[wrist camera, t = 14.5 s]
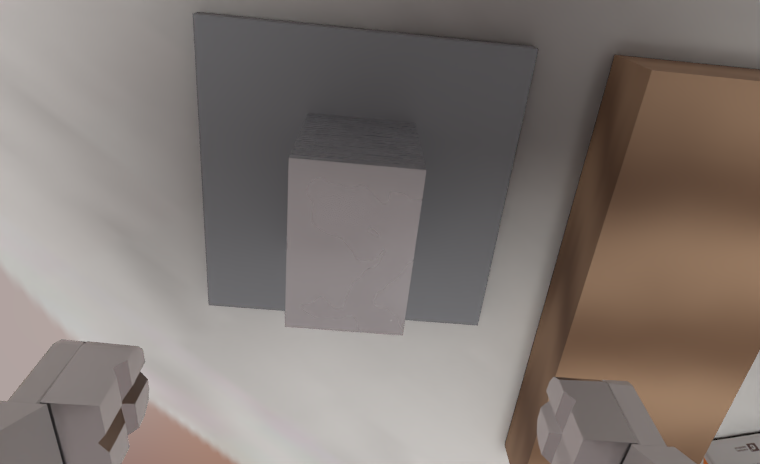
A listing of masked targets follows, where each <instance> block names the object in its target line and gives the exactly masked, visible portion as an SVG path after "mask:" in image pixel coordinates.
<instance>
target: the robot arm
mask: <svg viewBox="0 0 760 464" xmlns="http://www.w3.org/2000/svg"><path fill="white" fill-rule="evenodd" d="M144 363H145V358H144V353H143V349H142V348H140V347H139V346H130V345H120V344H109V343H99V342H89V341H88V342H82V341H73V340H63V339H61V340H59V341H57V342H56V343H54V344H53V345H52V346H51V347H50V349H49V350H48V351H47V353H46V354H45V355H44V356H43V357H42V359H41V360H40V361H39V362H38V364H37V365H36V366H35V367H34V369H33V370H32V371H31V372H30V374H29V375H28V376H27V378H26V379H25V380H24V381H23V382H22V384H21V385H20V386H19V387H18V389H17V390H16V391H15V392H14V394H13V395H12V396H11V397H10V399H9V400H8V401H0V464H121V463H122V461H123V459H124V457H125V455H126V453H127V451H128V449H129V441H128V435H129V434H131V433H132V432H133V431H135V430H136V429H138V428H139V426H140V424H141V422H142V420H143V418H144V416H145V412H146V408H147V404H148V400H149V385H148V379H147V378H146V377H145V376H144V375H143V374H142V373H141V372H140V371H141V369H142V367H143V365H144ZM546 392H547V395H548V398H549V400H550V401H548V402H547V403H546V404H544V405H543V406H542V407H541V408H540V412H539V415H538V419H537V438H538V444H539V448H540V451H541V455H542V456H543V457H544V458H546V459H547V460H548V461H549V462H550V463H551V464H696V463H695V462H694V461H692V460H691V459H690V458H688V457H687V456H686V455H684V454H683V453H682V452H680V451H679V450H678V449H676V448H675V447H667V445H666V444H665V442H664V440H663V438H662V437H661V435H660V433H659V431H658V429H657V428H656V426H655V424H654V422H653V421H652V419H651V417H650V415H649V414H648V412H647V410H646V408H645V406H644V405H643V403H642V401H641V399H640V398H639V396H638V394H637V392H636V391H635V389H634V387H633V385H632V384H630V383H629V382H628V381H617V380H595V379H580V378H565V377H553V378H552V379H551V380H550V382H549V384H548V387H547V390H546Z"/></svg>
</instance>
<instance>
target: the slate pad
mask: <svg viewBox="0 0 760 464" xmlns="http://www.w3.org/2000/svg"><path fill="white" fill-rule="evenodd" d="M193 25H194V43H195V62H196V80H197V99H198V117H199V135H200V154H201V172H202V190H203V209H204V227H205V246H206V264H207V282H208V301H209V305H214V306H228V307H241V308H254V309H267V310H281V311H285V299H286V254H287V209H288V164H289V156H290V154H291V151H292V149H293V147H294V144H295V142H296V140H297V137H298V135H299V133H300V130H301V128H302V126H303V123H304V121H305V119H306V116H307V114H308V113H315V114H325V115H336V116H347V117H357V118H368V119H379V120H389V121H400V122H411V123H415V124H416V128H417V132H418V136H419V141H420V145H421V149H422V153H423V158H424V162H425V166H426V177H425V184H424V191H423V198H422V205H421V211H420V218H419V225H418V232H417V239H416V246H415V253H414V260H413V267H412V274H411V281H410V288H409V295H408V302H407V308H406V315H405V320H413V321H426V322H439V323H453V324H466V325H478V322H479V317H480V313H481V308H482V304H483V299H484V295H485V290H486V285H487V281H488V276H489V272H490V267H491V263H492V258H493V254H494V249H495V244H496V240H497V235H498V231H499V226H500V222H501V217H502V213H503V208H504V203H505V199H506V194H507V190H508V185H509V181H510V176H511V172H512V167H513V162H514V158H515V153H516V149H517V144H518V140H519V135H520V131H521V126H522V121H523V117H524V112H525V108H526V103H527V99H528V94H529V90H530V85H531V81H532V76H533V71H534V67H535V62H536V58H537V53H538V49H537V48H536V47H534V46H524V45H515V44H505V43H495V42H485V41H475V40H466V39H456V38H446V37H436V36H426V35H417V34H407V33H397V32H387V31H378V30H368V29H358V28H348V27H338V26H329V25H319V24H309V23H299V22H289V21H280V20H270V19H260V18H250V17H241V16H231V15H221V14H211V13H201V12H197V13H194V14H193Z"/></svg>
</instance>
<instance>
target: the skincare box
mask: <svg viewBox="0 0 760 464" xmlns="http://www.w3.org/2000/svg"><path fill="white" fill-rule="evenodd" d="M700 464H760V433H758V434H752V435H746V436H740V437H734V438H727V439H720V440H713V441H712V442H711V444H710V446H709V448H708V450H707V452H706V454H705V456H704V458H703V460H702V462H701V463H700Z"/></svg>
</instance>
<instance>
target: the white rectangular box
mask: <svg viewBox="0 0 760 464" xmlns="http://www.w3.org/2000/svg"><path fill="white" fill-rule="evenodd" d="M425 177H426V166H425V162H424V158H423V153H422V149H421V145H420V141H419V136H418V132H417V128H416V124H415V123H411V122H400V121H389V120H379V119H368V118H357V117H347V116H336V115H325V114H315V113H308V114H307V116H306V119H305V121H304V123H303V126H302V128H301V130H300V133H299V135H298V137H297V140H296V142H295V144H294V147H293V149H292V151H291V154H290V156H289V164H288V209H287V254H286V299H285V327H297V328H311V329H324V330H338V331H351V332H365V333H378V334H392V335H403V329H404V322H405V315H406V308H407V302H408V295H409V288H410V281H411V274H412V267H413V260H414V253H415V246H416V239H417V232H418V225H419V218H420V211H421V205H422V198H423V191H424V184H425Z"/></svg>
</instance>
